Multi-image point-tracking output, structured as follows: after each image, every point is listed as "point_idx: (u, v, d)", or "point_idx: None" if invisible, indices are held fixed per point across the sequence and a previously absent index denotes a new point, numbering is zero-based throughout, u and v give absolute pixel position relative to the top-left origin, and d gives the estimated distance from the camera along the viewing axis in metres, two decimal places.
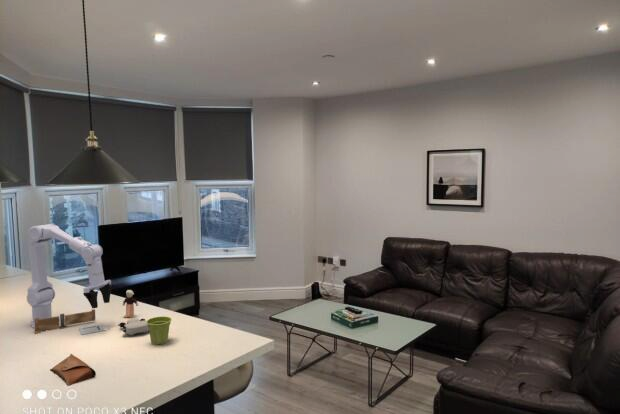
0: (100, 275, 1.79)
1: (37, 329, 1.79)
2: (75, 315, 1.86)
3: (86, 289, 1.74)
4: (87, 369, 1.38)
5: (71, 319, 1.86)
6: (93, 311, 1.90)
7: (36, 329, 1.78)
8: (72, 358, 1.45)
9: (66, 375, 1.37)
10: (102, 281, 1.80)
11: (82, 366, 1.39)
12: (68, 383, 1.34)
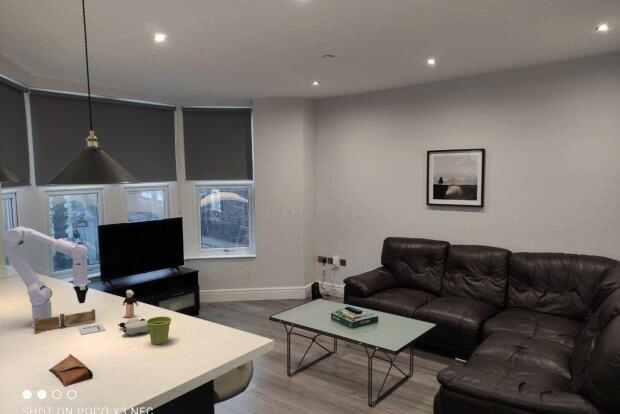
0: (87, 273, 1.92)
1: (37, 329, 1.79)
2: (75, 315, 1.86)
3: (83, 286, 1.86)
4: (84, 370, 1.37)
5: (71, 319, 1.86)
6: (93, 311, 1.90)
7: (36, 329, 1.78)
8: (71, 358, 1.44)
9: (63, 376, 1.36)
10: (87, 279, 1.93)
11: (79, 367, 1.38)
12: (65, 384, 1.33)
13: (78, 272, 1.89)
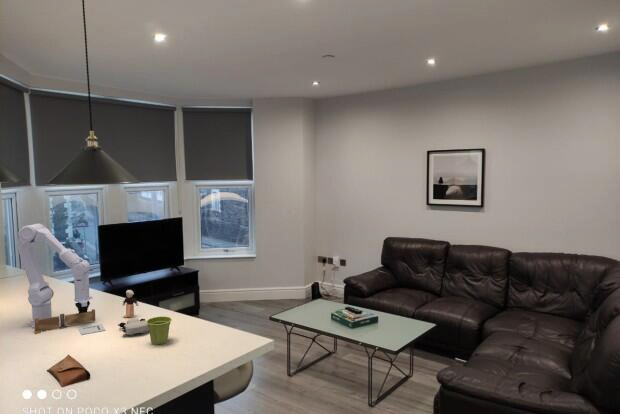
0: None
1: (37, 329, 1.79)
2: (75, 315, 1.86)
3: (85, 303, 1.84)
4: (81, 371, 1.37)
5: (71, 319, 1.86)
6: (93, 311, 1.90)
7: (36, 329, 1.78)
8: (68, 359, 1.44)
9: (60, 376, 1.36)
10: None
11: (77, 367, 1.38)
12: (62, 384, 1.33)
13: (78, 288, 1.86)
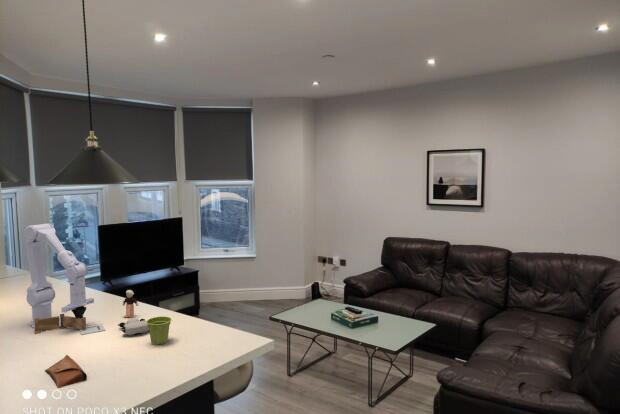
0: (81, 295, 1.80)
1: (37, 329, 1.79)
2: (69, 318, 1.82)
3: (64, 309, 1.75)
4: (78, 372, 1.36)
5: (67, 321, 1.83)
6: (82, 319, 1.80)
7: (36, 329, 1.78)
8: (66, 360, 1.43)
9: (57, 377, 1.35)
10: (82, 301, 1.81)
11: (74, 368, 1.37)
12: (58, 385, 1.32)
13: (72, 293, 1.79)
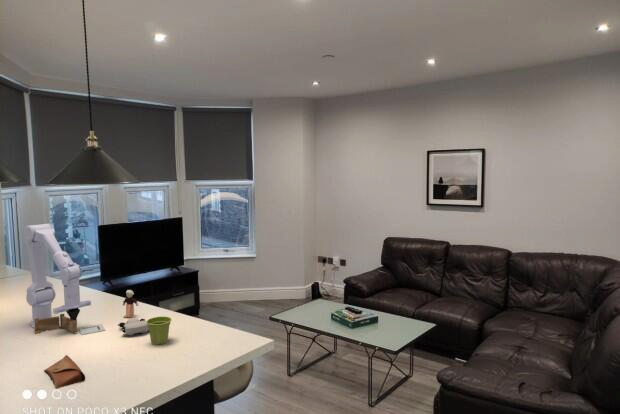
0: (73, 298, 1.77)
1: (37, 329, 1.79)
2: (65, 319, 1.81)
3: (54, 310, 1.74)
4: (76, 373, 1.36)
5: (64, 322, 1.82)
6: (72, 322, 1.76)
7: (36, 329, 1.78)
8: (65, 360, 1.43)
9: (55, 377, 1.35)
10: (75, 304, 1.78)
11: (72, 369, 1.37)
12: (56, 386, 1.32)
13: (65, 294, 1.77)
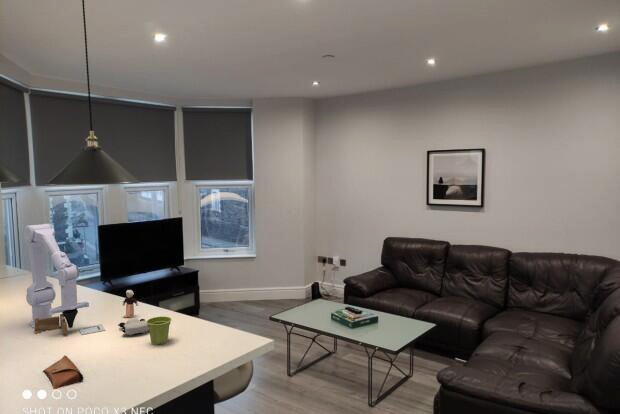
0: (69, 299, 1.76)
1: (37, 329, 1.79)
2: (61, 320, 1.80)
3: (50, 311, 1.73)
4: (74, 373, 1.35)
5: (61, 323, 1.81)
6: (63, 324, 1.74)
7: (36, 329, 1.78)
8: (64, 360, 1.43)
9: (54, 378, 1.35)
10: (71, 305, 1.76)
11: (70, 369, 1.37)
12: (54, 386, 1.32)
13: (62, 295, 1.76)
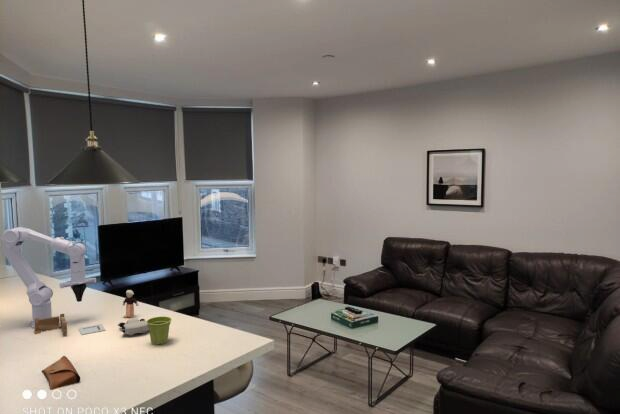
0: (78, 274, 1.88)
1: (37, 329, 1.79)
2: (61, 320, 1.80)
3: (60, 285, 1.85)
4: (71, 374, 1.35)
5: (61, 323, 1.81)
6: (62, 324, 1.74)
7: (36, 329, 1.78)
8: (62, 360, 1.43)
9: (51, 378, 1.34)
10: (79, 280, 1.88)
11: (68, 370, 1.36)
12: (51, 387, 1.31)
13: (75, 271, 1.87)
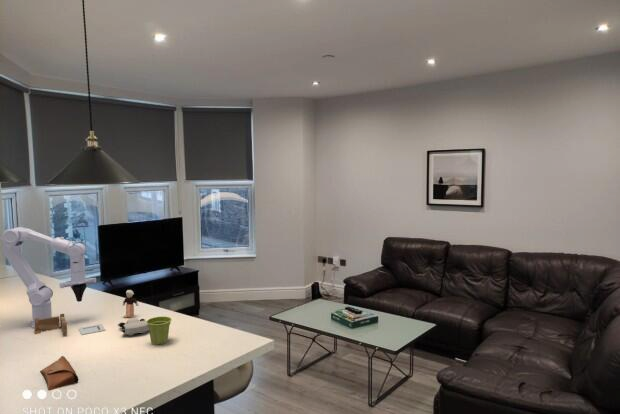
0: (78, 274, 1.88)
1: (37, 329, 1.79)
2: (61, 320, 1.80)
3: (60, 285, 1.85)
4: (69, 374, 1.34)
5: (61, 323, 1.81)
6: (62, 324, 1.74)
7: (36, 329, 1.78)
8: (61, 361, 1.42)
9: (49, 379, 1.34)
10: (79, 280, 1.88)
11: (66, 370, 1.36)
12: (49, 387, 1.31)
13: (75, 270, 1.87)
